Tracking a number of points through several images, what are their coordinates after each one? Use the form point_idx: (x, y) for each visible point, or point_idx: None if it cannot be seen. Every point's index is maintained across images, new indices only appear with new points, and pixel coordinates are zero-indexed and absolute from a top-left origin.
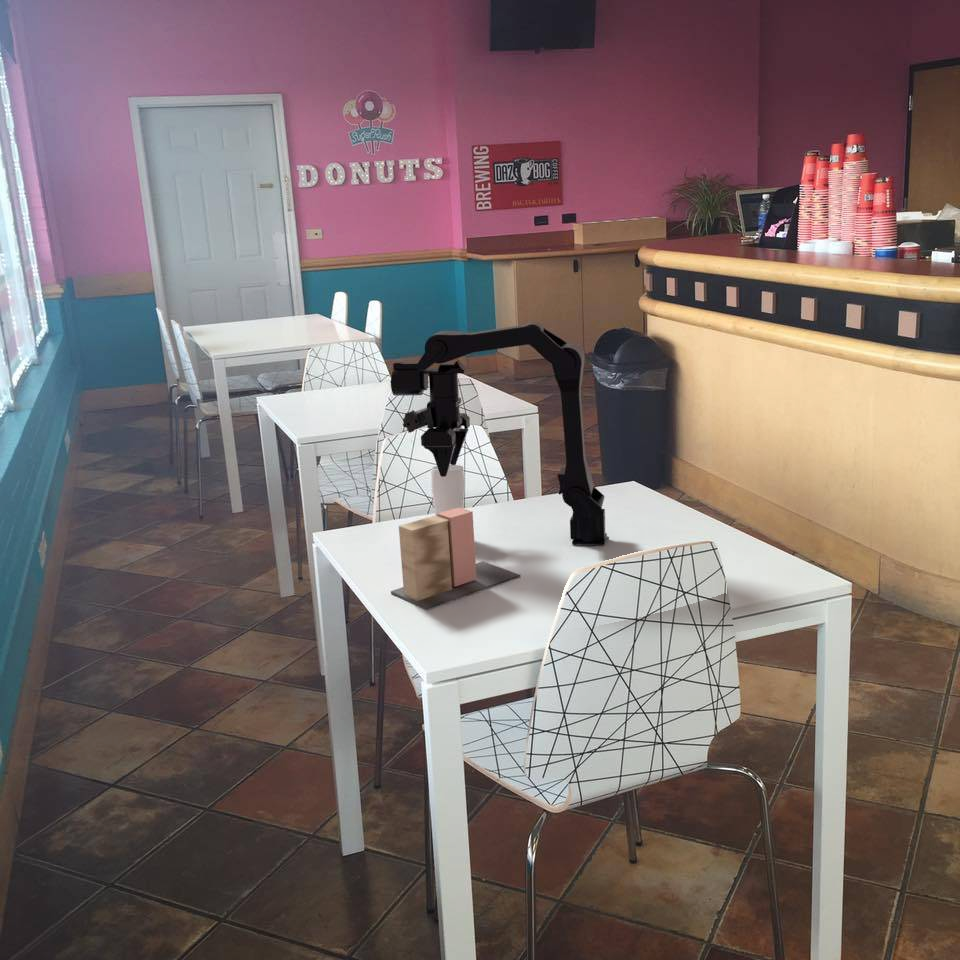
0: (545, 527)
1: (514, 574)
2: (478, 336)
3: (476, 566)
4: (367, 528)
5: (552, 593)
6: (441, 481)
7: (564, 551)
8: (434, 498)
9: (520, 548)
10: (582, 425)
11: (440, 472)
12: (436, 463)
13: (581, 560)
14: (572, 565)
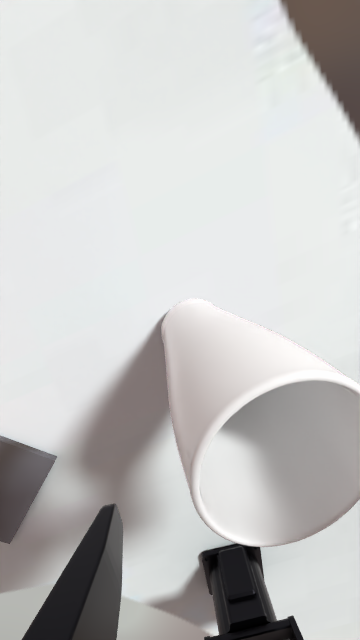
0: None
1: (6, 535)
2: None
3: (19, 462)
4: (245, 18)
5: None
6: (175, 434)
7: (168, 550)
8: (181, 344)
9: (166, 483)
10: None
11: (87, 538)
12: (31, 626)
13: (130, 584)
14: None
